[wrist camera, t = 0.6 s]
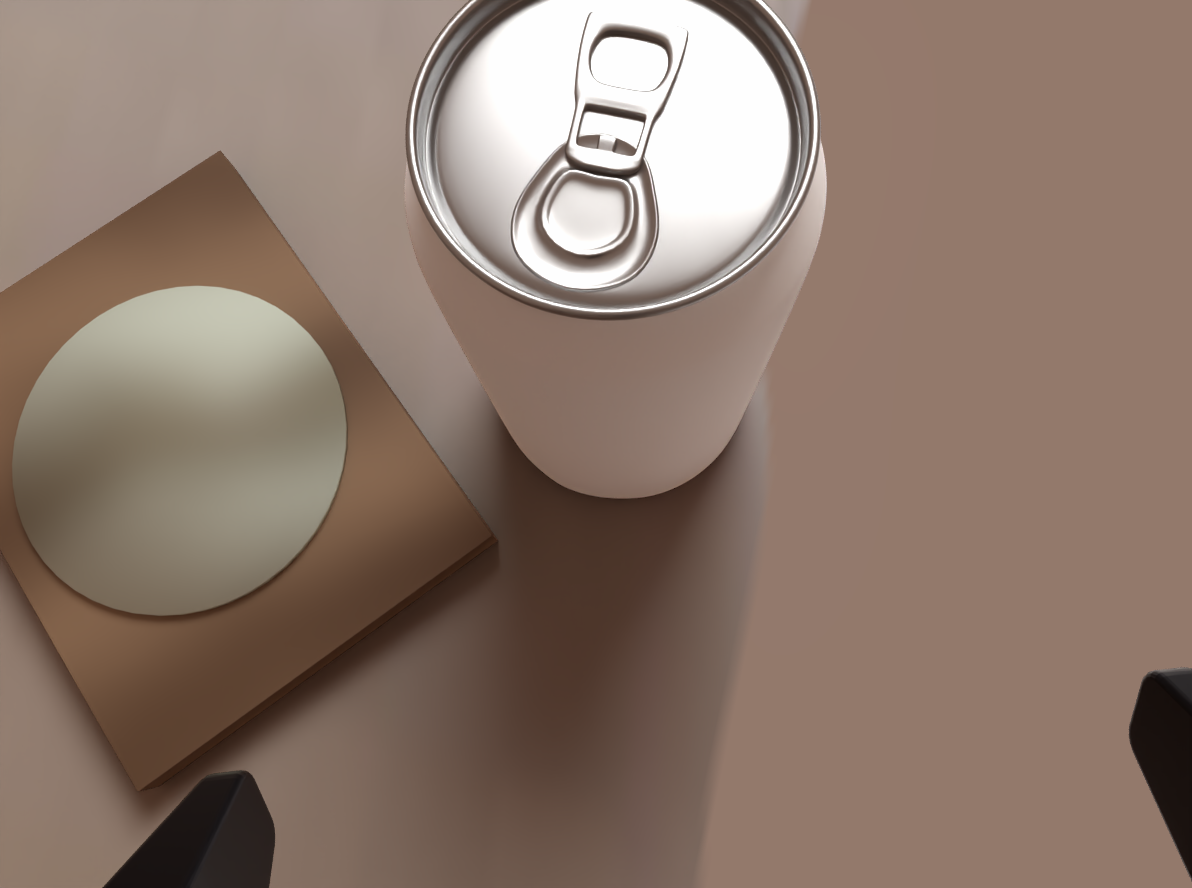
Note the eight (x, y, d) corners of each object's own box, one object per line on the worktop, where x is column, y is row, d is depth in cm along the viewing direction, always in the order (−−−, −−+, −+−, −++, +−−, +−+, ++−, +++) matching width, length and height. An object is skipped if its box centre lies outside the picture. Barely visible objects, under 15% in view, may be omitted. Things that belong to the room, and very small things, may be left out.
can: (470, 471, 24) (311, 291, 12) (533, 244, 25) (446, -117, 13) (717, 529, 23) (804, 399, 11) (768, 293, 24) (892, -39, 13)
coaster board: (498, 540, 23) (490, 534, 22) (159, 786, 22) (133, 792, 21) (235, 169, 26) (216, 146, 25) (-78, 373, 25) (-113, 359, 24)
